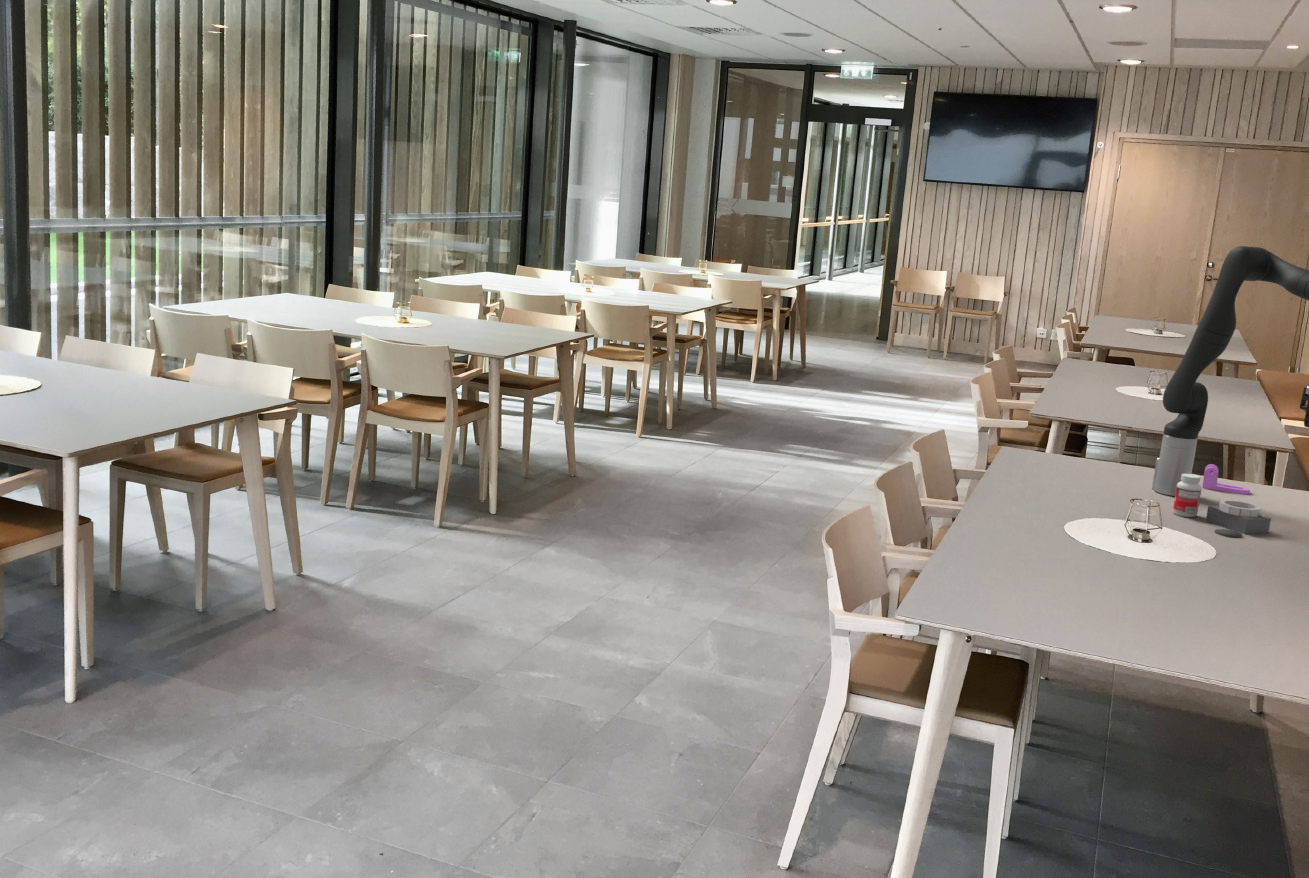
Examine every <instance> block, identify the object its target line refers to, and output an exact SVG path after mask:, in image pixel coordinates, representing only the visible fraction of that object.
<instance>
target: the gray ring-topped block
mask: <svg viewBox="0 0 1309 878" xmlns="http://www.w3.org/2000/svg"><path fill="white" fill-rule="evenodd" d="M1267 515H1268V514H1267V513H1262V507H1261V506H1259V505H1258V504H1256V503H1251V502H1248V501H1242V500H1234V499H1221V500H1220V501H1219V505H1217V504H1216V505H1207V511H1206V517H1205V521H1208V522H1210V523H1212V524H1216V525H1217V526H1218V525H1219V526H1222V527H1224V528H1227V529H1228V530H1232V531H1236V532H1239V533H1241V534H1242V535H1248V534H1249V535H1253V534H1254V535H1255V534H1257V535H1258V534H1269V531H1270V525H1271V521H1272V518H1271V517H1268V516H1267Z"/></svg>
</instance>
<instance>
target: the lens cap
mask: <svg viewBox="0 0 1309 878" xmlns="http://www.w3.org/2000/svg"><path fill="white" fill-rule="evenodd" d="M1214 533H1215V534H1216V535H1218V536H1222V537H1225V538H1234V539H1240V538H1242V537H1243V533H1240V532H1238V531H1235V530H1232V529H1226V528H1217V529H1214Z"/></svg>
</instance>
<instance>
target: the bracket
mask: <svg viewBox="0 0 1309 878" xmlns="http://www.w3.org/2000/svg"><path fill="white" fill-rule="evenodd" d="M1218 478H1219V467H1218V466H1217V465H1216V464H1211V463H1210V464H1207V465H1206V466H1205V468H1204V473H1203V478H1202V479H1203V480H1202V485H1201V488H1202V489H1203V490H1204V489H1206V490H1212V491H1218V492H1226V493H1233V494H1238V495H1250V493H1251V489H1250V488H1249V487H1248V488H1247V487H1245V486H1239V485H1233V484H1232V485H1231V484H1227V483H1226V484H1225V483H1220V482H1218Z"/></svg>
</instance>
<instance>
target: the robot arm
mask: <svg viewBox="0 0 1309 878" xmlns="http://www.w3.org/2000/svg"><path fill="white" fill-rule="evenodd" d="M1245 281H1247V282H1257V281H1258V282H1259V281H1260V282H1266V283H1267V282H1268V283H1273V284H1276V285H1279V286H1280V287H1283V288H1284V289H1285V290H1286V291H1287V292H1288V293H1290V294H1291V295H1294V296H1296V297H1298V298H1301V299H1304V300H1305V301H1306V300H1307V301H1309V269H1307V268H1303V267H1301V266H1298V265H1295V264H1292V263H1290V262H1288V261H1286V260H1284V259H1282V258H1280V257H1279V256H1278V255H1276V254H1275V253H1272V252H1271V251H1269V250H1267V249H1266V248H1262V247H1260V246H1259V247H1258V246H1246V245H1239V246H1235V247H1234V248H1232V249H1231V250H1230V251H1229V252H1228V253H1227V254H1226V257H1225V258H1224V261H1223V263H1222V266H1221V268H1220V272H1219V274H1218V278H1217V280H1216V284H1215V287H1214V289H1213V292H1212V293H1211V296H1210V299H1209V301H1208V304H1207V306H1206V309H1205V311H1204V313H1203V315H1202V316H1201V319H1200V320H1199V323H1198V325H1197V326H1196V329H1195V330H1194V334H1193V336H1192V339H1191V341H1190V343H1189V345H1188V347H1187V349H1186V351H1185V353H1184V355H1183V357H1182V359H1181V361H1180V363H1179V364H1178V366H1177V369H1175V371H1174V373H1173V375H1172V377H1171V378H1170V379H1169V381H1168V382H1167V385H1166V386H1165V389H1164V391H1163V395H1162V405H1163V407H1164V409H1165V410H1166V412H1169V413H1171V414H1177V416H1176V418H1175V419H1173V420H1171V421H1170V422H1168V423H1167V424H1165V425H1164V429H1163V435H1162V441H1161V447H1160V453H1159V457H1157V458H1156V460H1155V467H1154V474H1153V478H1152V479H1153V480H1152V485H1151V490H1154V491H1155V492H1156V493H1159V494H1163V495H1166V496H1173V497H1175V494H1176V488H1177V484H1178V483H1179V482H1181V481H1182V480H1181V476H1182V474H1193V468H1194V461H1195V456H1196V455H1195V454H1196V451H1197V444H1198V437H1199V434H1200V432H1201V430H1202V428H1203V427H1204V422H1205V418H1206V412H1207V409H1208V404H1209V392H1208V389H1207V388H1206V386H1205V385H1204V384H1203V383H1201V382H1197V380H1198V378H1199V377H1200V376H1201V375H1202V373H1203V371H1204V370H1206V369H1207V368H1208V367H1209V366H1210V365H1211V364H1213V363H1214V362H1215V360H1216V359H1218V358H1219V357H1220V356H1221V355H1222V354H1224V351H1225V350H1226V349H1227V347H1228V346H1229V344H1230V341H1231V339H1232V337H1233V335H1234V333H1235V330H1236V327H1237V317H1236V304H1235V302H1236V298H1237V297H1238V293H1239V290H1240V289H1241V286H1242V285H1243V283H1244V282H1245ZM1299 410H1302V411H1304V413H1305V415H1304V421H1303V425H1304V427H1305V428H1308V429H1309V385H1305V386H1304V388H1303V391H1302V396H1301V400H1300V404H1299Z"/></svg>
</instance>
